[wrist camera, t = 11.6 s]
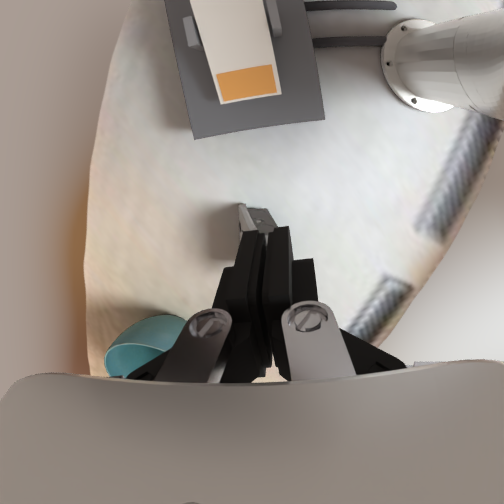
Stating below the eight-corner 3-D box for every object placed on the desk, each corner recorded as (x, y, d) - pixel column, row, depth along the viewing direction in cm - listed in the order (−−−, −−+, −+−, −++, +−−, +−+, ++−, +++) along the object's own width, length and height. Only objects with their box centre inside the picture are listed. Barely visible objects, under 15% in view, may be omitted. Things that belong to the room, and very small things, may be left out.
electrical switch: (238, 201, 42) (235, 233, 34) (277, 201, 42) (283, 233, 34) (240, 260, 47) (238, 301, 39) (275, 260, 47) (280, 300, 39)
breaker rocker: (247, -58, 16) (247, -60, 15) (281, 90, 28) (281, 94, 27) (179, -42, 17) (176, -43, 16) (222, 100, 29) (220, 104, 28)
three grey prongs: (387, -24, 24) (389, -26, 23) (402, 46, 29) (406, 45, 28) (291, -23, 26) (291, -26, 25) (307, 49, 31) (307, 48, 30)
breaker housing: (286, -44, 24) (286, -82, 15) (318, 114, 35) (332, 126, 25) (175, -21, 26) (139, -48, 17) (207, 131, 37) (180, 149, 28)
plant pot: (113, 318, 56) (87, 364, 46) (169, 274, 49) (142, 327, 39) (179, 371, 63) (164, 418, 52) (242, 341, 55) (233, 396, 45)
